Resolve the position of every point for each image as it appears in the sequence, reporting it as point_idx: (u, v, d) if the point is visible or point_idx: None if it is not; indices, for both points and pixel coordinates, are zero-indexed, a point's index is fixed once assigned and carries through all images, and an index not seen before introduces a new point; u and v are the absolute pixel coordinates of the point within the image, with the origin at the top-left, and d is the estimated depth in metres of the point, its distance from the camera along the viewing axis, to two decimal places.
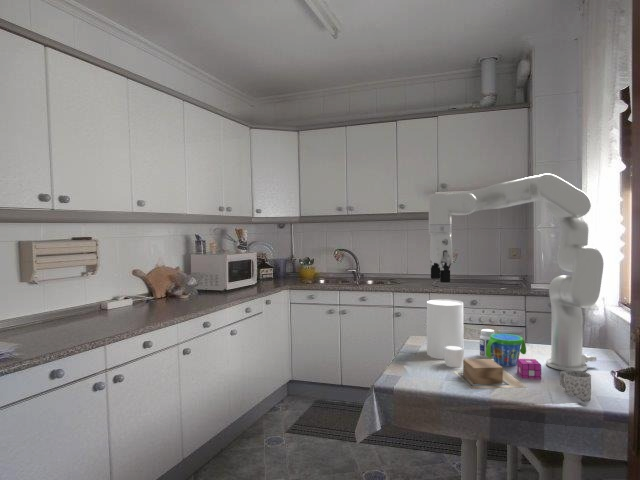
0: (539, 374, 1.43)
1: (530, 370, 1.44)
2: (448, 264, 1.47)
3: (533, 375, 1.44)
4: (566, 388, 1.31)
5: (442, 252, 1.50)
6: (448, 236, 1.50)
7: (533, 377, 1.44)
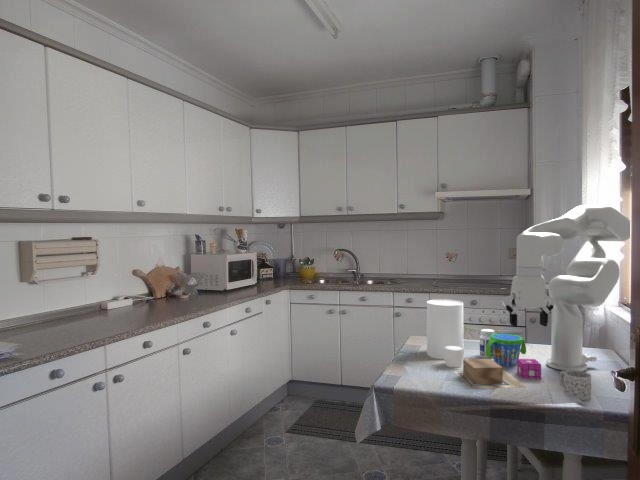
0: (539, 374, 1.43)
1: (530, 370, 1.44)
2: None
3: (533, 376, 1.44)
4: (566, 388, 1.31)
5: None
6: None
7: (533, 377, 1.44)
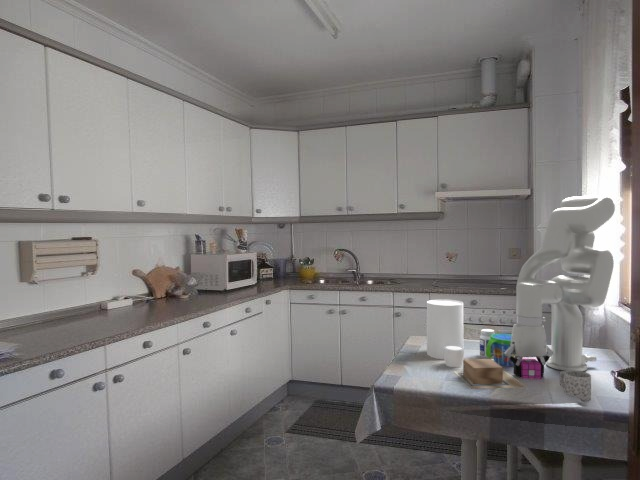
0: (539, 373, 1.43)
1: (530, 370, 1.44)
2: None
3: (533, 375, 1.44)
4: (566, 388, 1.31)
5: None
6: None
7: (533, 377, 1.44)
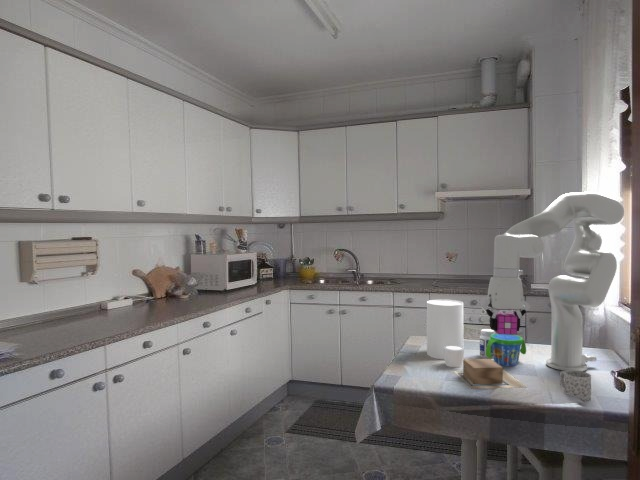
0: (515, 326, 1.41)
1: (506, 322, 1.42)
2: None
3: (509, 328, 1.41)
4: (566, 388, 1.31)
5: None
6: None
7: (509, 329, 1.41)
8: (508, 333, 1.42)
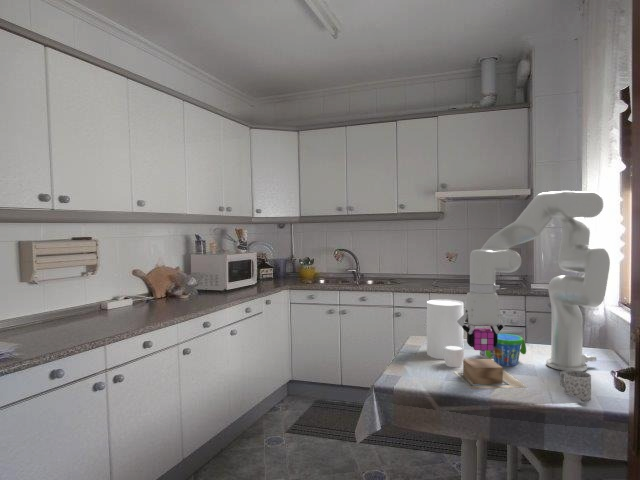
0: (491, 342, 1.40)
1: (483, 338, 1.41)
2: None
3: (486, 344, 1.41)
4: (566, 388, 1.31)
5: None
6: None
7: (486, 345, 1.41)
8: (485, 349, 1.41)
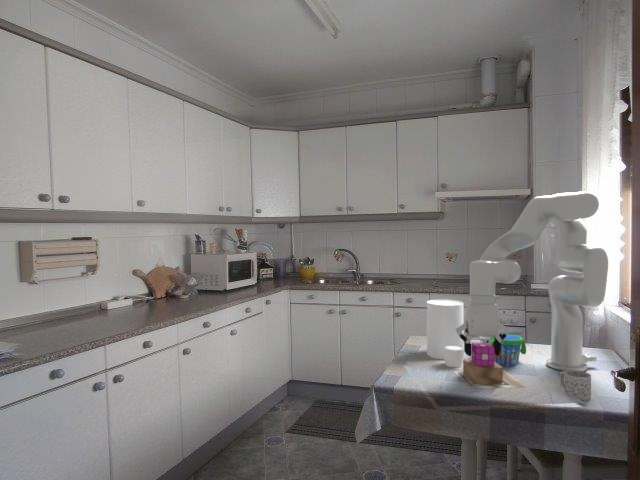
0: (492, 357, 1.41)
1: (483, 354, 1.41)
2: None
3: (487, 359, 1.41)
4: (566, 388, 1.31)
5: None
6: None
7: (486, 361, 1.41)
8: (486, 364, 1.41)
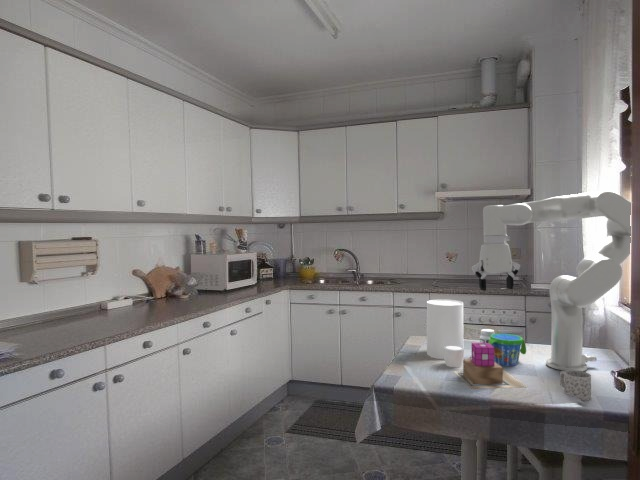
0: (492, 357, 1.41)
1: (483, 354, 1.41)
2: None
3: (487, 359, 1.41)
4: (566, 388, 1.31)
5: None
6: None
7: (486, 361, 1.41)
8: (486, 364, 1.41)
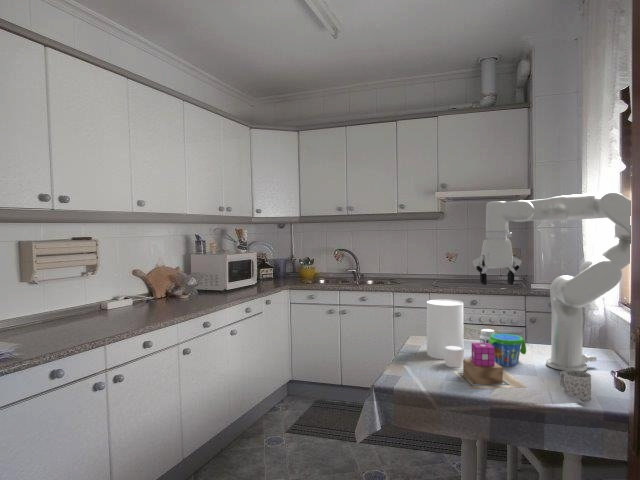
0: (492, 357, 1.41)
1: (483, 354, 1.41)
2: None
3: (487, 359, 1.41)
4: (566, 388, 1.31)
5: None
6: None
7: (486, 361, 1.41)
8: (486, 364, 1.41)
